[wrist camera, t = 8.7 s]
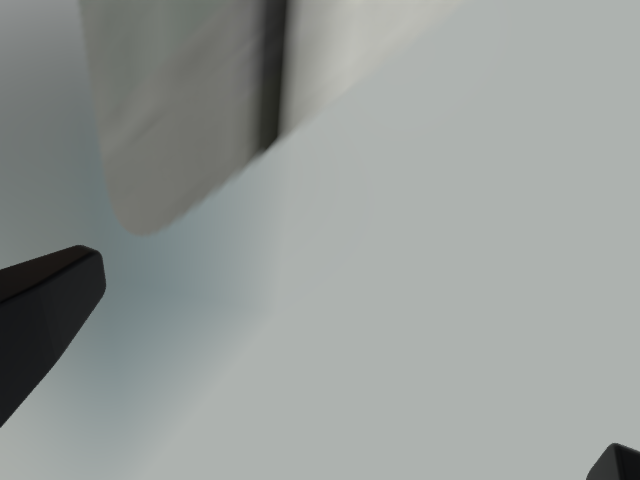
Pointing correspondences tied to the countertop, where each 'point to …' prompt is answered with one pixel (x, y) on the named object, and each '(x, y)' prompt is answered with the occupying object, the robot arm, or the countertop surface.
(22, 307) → the robot arm
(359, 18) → the countertop surface
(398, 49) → the countertop surface
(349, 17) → the countertop surface
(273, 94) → the countertop surface
